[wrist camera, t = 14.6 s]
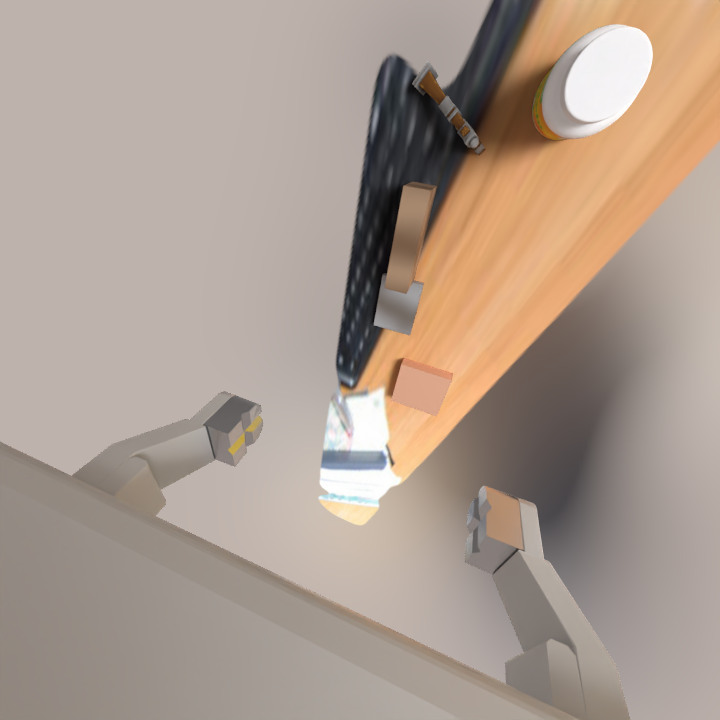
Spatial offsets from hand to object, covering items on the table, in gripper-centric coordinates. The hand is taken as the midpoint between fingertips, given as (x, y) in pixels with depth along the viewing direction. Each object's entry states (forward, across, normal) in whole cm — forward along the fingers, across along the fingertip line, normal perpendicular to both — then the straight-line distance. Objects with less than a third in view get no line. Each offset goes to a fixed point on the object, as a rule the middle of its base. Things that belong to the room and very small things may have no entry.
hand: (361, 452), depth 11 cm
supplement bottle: (+29, -6, -13) cm, 33 cm away
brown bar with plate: (+29, +4, +3) cm, 30 cm away
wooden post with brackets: (+30, +3, -11) cm, 32 cm away
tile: (+28, -2, +16) cm, 33 cm away
